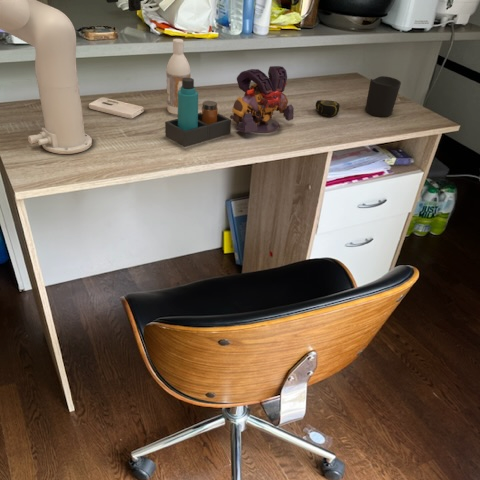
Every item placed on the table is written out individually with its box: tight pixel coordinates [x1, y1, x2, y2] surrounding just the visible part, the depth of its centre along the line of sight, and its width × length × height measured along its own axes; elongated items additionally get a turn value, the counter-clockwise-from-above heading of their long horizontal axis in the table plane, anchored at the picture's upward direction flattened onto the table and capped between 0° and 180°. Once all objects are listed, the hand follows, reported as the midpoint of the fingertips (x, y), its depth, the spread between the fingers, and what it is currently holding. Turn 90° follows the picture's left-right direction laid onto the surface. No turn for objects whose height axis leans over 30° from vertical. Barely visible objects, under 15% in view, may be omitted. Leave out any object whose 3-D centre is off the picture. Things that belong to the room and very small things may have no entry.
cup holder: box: [164, 112, 232, 148], centre depth 146 cm, size 16×9×5 cm, turn 133°
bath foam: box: [165, 38, 191, 115], centre depth 154 cm, size 7×7×20 cm
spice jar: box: [201, 100, 219, 125], centre depth 147 cm, size 4×4×8 cm
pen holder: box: [364, 75, 402, 118], centre depth 169 cm, size 9×9×10 cm
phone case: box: [88, 96, 145, 119], centre depth 158 cm, size 7×1×15 cm
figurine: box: [229, 65, 295, 134], centre depth 150 cm, size 20×14×17 cm
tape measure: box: [315, 99, 341, 117], centre depth 167 cm, size 7×7×4 cm
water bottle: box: [177, 77, 199, 131], centre depth 140 cm, size 5×5×15 cm
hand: (123, 6), depth 129 cm, fingers open, 9 cm apart
